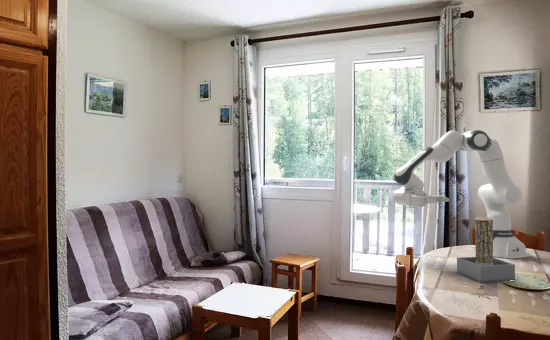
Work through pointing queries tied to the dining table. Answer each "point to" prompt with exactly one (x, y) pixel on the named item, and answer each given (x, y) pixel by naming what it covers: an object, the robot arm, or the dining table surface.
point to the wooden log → (484, 240)
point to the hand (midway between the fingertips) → (441, 200)
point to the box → (486, 270)
